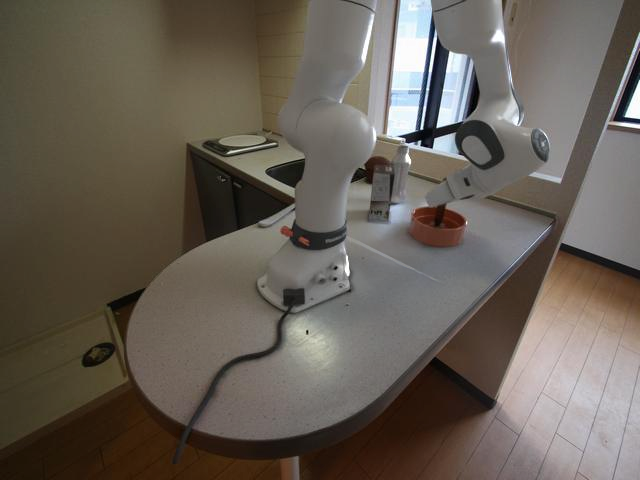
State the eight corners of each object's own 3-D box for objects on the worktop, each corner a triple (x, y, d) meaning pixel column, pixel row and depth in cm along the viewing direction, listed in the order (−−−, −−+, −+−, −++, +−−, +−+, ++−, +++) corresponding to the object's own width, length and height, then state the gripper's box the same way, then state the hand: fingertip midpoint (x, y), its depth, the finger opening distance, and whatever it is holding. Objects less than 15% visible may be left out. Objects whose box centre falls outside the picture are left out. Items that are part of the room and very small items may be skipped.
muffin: (359, 183, 131) (361, 159, 126) (365, 174, 140) (367, 152, 135) (388, 187, 128) (391, 162, 123) (392, 178, 137) (395, 155, 132)
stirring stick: (438, 238, 91) (452, 181, 82) (424, 233, 94) (436, 176, 85) (445, 233, 94) (459, 177, 85) (432, 228, 97) (444, 173, 88)
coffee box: (388, 223, 100) (395, 174, 92) (368, 221, 101) (373, 172, 93) (388, 211, 108) (395, 165, 100) (369, 209, 109) (374, 163, 101)
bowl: (446, 255, 85) (451, 235, 82) (398, 234, 94) (401, 216, 91) (470, 236, 94) (475, 218, 91) (424, 219, 103) (428, 202, 100)
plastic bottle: (408, 203, 114) (418, 147, 104) (395, 207, 111) (403, 150, 101) (395, 197, 119) (403, 143, 109) (382, 201, 116) (389, 145, 105)
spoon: (318, 190, 123) (317, 184, 122) (334, 194, 119) (334, 188, 118) (251, 227, 99) (250, 219, 98) (270, 234, 95) (269, 226, 94)
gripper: (500, 162, 82) (460, 186, 94) (445, 174, 73) (409, 198, 86) (511, 184, 81) (469, 205, 93) (456, 199, 72) (418, 220, 85)
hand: (440, 202), depth 89 cm, fingers closed on stirring stick, 2 cm apart
